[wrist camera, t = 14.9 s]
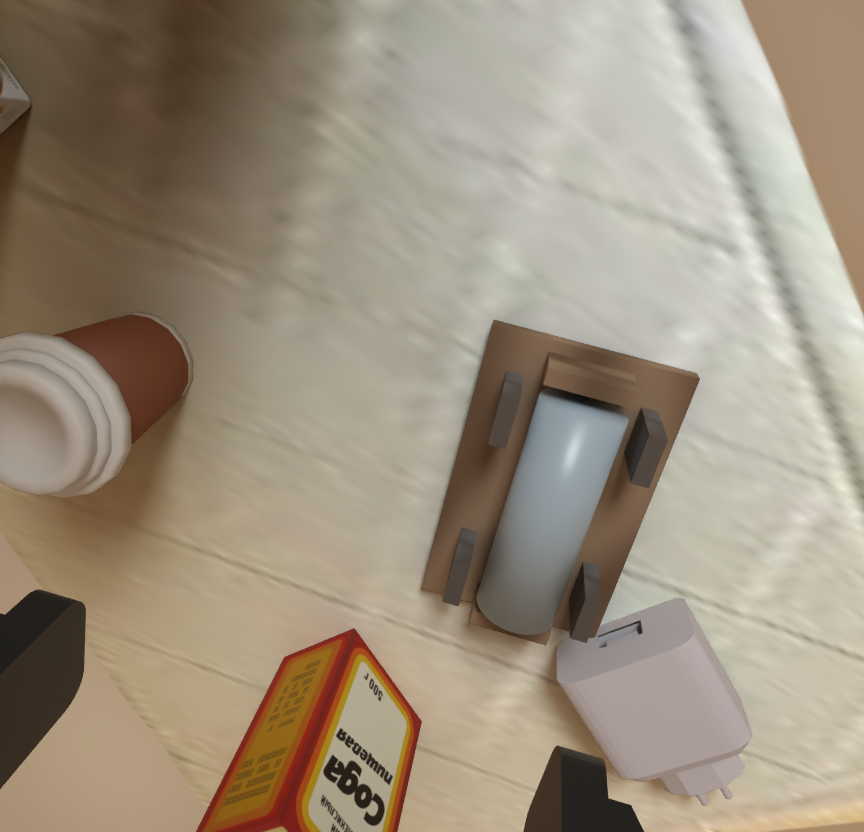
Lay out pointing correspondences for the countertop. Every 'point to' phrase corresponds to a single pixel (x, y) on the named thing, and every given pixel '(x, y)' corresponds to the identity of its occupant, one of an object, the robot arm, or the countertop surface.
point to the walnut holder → (501, 448)
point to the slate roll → (549, 509)
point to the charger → (658, 700)
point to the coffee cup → (84, 400)
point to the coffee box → (10, 98)
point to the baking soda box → (321, 748)
